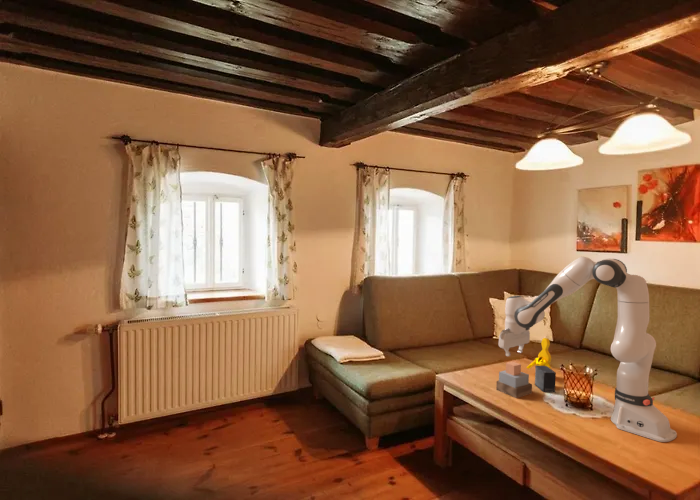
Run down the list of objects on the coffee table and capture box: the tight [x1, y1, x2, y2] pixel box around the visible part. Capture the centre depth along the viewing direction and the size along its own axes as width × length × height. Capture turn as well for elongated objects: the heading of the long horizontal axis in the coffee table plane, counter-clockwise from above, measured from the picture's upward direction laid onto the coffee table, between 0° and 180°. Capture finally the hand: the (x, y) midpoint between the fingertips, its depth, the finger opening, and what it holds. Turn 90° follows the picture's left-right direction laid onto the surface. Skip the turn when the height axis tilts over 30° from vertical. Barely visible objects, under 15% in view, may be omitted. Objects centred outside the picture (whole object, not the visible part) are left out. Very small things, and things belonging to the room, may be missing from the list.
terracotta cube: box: [505, 361, 522, 376], centre depth 206 cm, size 5×5×5 cm
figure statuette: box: [526, 337, 553, 370], centre depth 225 cm, size 18×8×22 cm, turn 29°
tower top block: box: [498, 369, 530, 388], centre depth 206 cm, size 10×10×5 cm
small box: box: [534, 365, 557, 393], centre depth 210 cm, size 11×6×10 cm, turn 179°
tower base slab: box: [495, 379, 533, 399], centre depth 207 cm, size 12×12×5 cm
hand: (514, 354), depth 205 cm, fingers open, 8 cm apart
